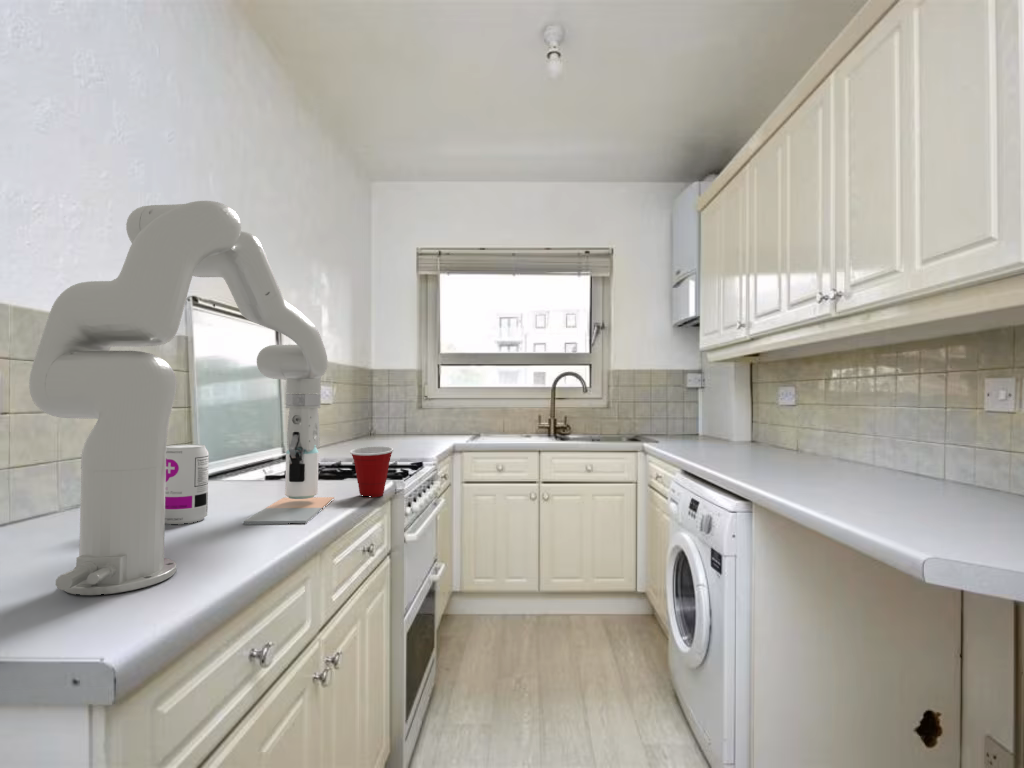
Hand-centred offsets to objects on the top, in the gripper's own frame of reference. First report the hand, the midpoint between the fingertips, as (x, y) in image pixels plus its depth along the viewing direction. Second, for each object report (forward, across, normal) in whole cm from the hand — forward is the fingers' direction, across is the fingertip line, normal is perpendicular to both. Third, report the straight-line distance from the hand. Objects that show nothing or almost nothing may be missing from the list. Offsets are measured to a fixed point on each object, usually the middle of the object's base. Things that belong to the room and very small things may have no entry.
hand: (301, 478), depth 123 cm
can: (+4, 0, 0) cm, 4 cm away
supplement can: (+7, -14, +19) cm, 24 cm away
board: (+6, -6, 0) cm, 9 cm away
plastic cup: (+6, +11, -14) cm, 19 cm away
